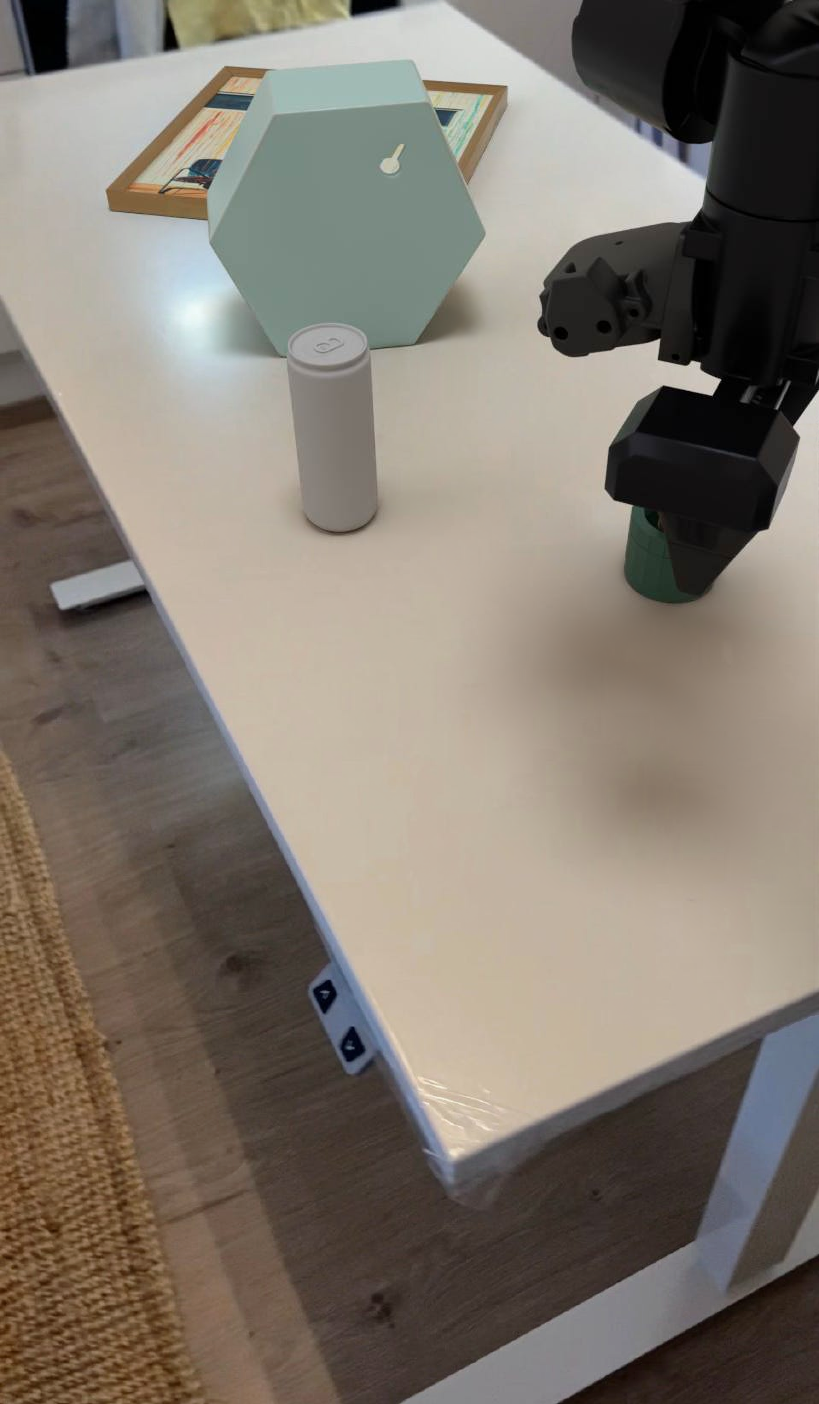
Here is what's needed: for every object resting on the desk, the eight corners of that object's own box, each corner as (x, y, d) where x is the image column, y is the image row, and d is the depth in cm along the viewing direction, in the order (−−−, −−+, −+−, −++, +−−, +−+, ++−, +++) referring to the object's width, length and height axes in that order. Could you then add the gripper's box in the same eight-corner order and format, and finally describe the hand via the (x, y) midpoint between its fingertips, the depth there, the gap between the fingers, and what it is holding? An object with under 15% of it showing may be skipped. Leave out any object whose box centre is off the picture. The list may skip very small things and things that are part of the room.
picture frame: (105, 189, 105) (224, 65, 125) (109, 210, 107) (227, 84, 126) (438, 220, 100) (507, 85, 119) (438, 242, 101) (507, 105, 121)
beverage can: (288, 510, 76) (268, 341, 68) (348, 479, 78) (335, 312, 70) (334, 546, 74) (319, 376, 65) (394, 514, 76) (387, 344, 67)
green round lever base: (725, 557, 72) (738, 497, 69) (700, 613, 69) (713, 553, 66) (639, 535, 74) (648, 475, 71) (611, 588, 71) (619, 529, 67)
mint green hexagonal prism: (366, 349, 98) (509, 120, 86) (378, 401, 93) (532, 164, 81) (174, 257, 90) (304, -9, 78) (175, 308, 85) (314, 30, 73)
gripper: (650, 73, 51) (616, 391, 63) (478, 260, 40) (474, 609, 51) (918, 107, 48) (831, 438, 59) (814, 324, 36) (730, 683, 48)
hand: (718, 531), depth 54 cm, fingers open, 9 cm apart
